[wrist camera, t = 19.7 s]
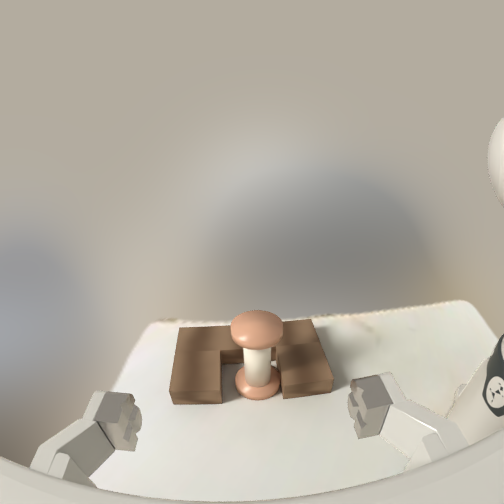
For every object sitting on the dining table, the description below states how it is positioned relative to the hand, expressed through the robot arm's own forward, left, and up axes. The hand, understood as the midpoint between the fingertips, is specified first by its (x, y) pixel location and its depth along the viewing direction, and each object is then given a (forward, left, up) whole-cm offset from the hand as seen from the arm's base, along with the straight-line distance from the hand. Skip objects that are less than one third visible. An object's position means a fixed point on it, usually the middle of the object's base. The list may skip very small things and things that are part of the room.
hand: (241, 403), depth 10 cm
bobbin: (-2, -23, -25) cm, 35 cm away
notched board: (-1, -27, -25) cm, 37 cm away
